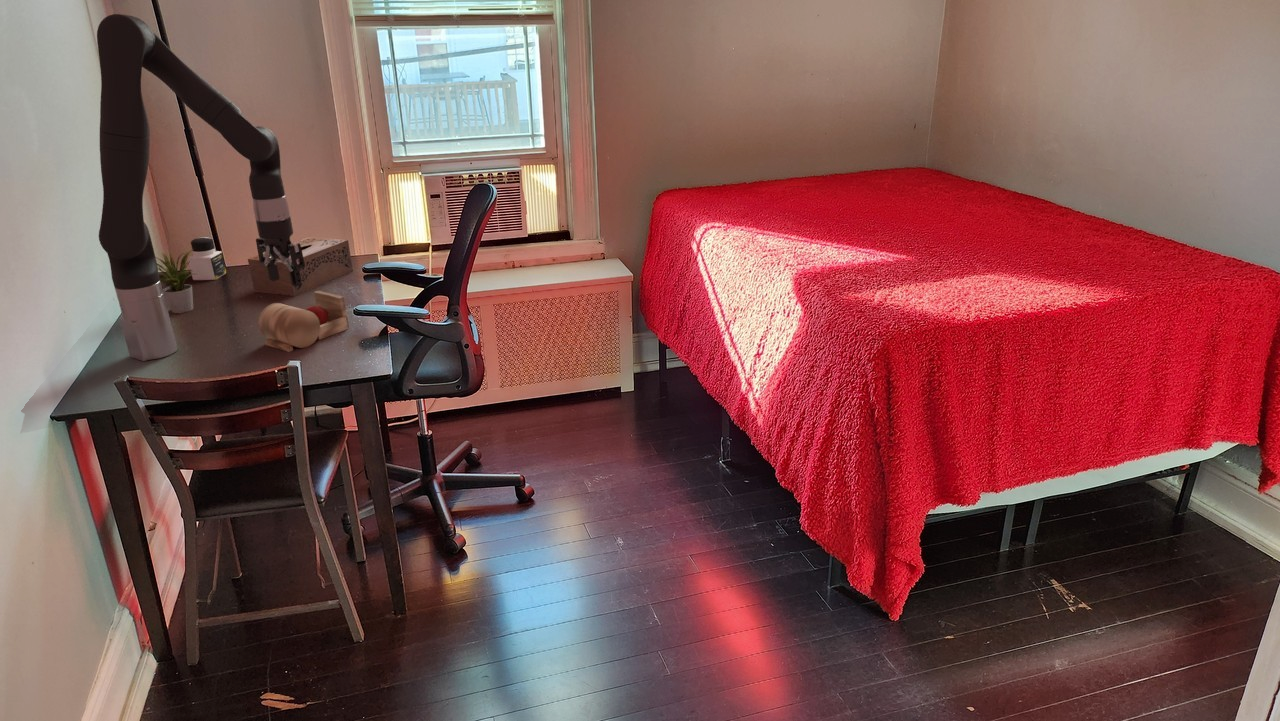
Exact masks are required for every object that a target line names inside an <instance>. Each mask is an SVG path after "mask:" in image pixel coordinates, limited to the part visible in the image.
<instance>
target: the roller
mask: <svg viewBox="0 0 1280 721" xmlns="http://www.w3.org/2000/svg"><path fill="white" fill-rule="evenodd" d="M258 328H259V331H260V333H261V334H262V335H263V336H264V337H265V338H267V339H264V344H265V346H268V347H272V348H274V349H278V350H282V351H284V352H288V353H289V352H292V351H294V347H296V348H301V349H303V348H307V347H309V346H311V345H312V344H314V343H315V342H316V340H318V339H317V337H318V335H319V332H320V322H319V319H318V317H317V316H316V315H315V314H314V313H313V312H311V311H308V310H305V309H303V308H300V307H297V306H296V307H295V306H293V305H288V304H285V303H284V304H283V303H280V302H273V303H270V304H268V305H267V306H265V307H264V308H263V310H262V311H261V312H260V314H259V317H258Z"/></svg>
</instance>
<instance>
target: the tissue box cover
mask: <svg viewBox="0 0 1280 721" xmlns="http://www.w3.org/2000/svg"><path fill="white" fill-rule="evenodd" d="M291 243H292V244H295V243H300V245H301V249H302V254H303V258H304V263H305V268H302V269H300V276H301V285H299V286H296V287H294V286H292V284H291V279H290V273H289V272H290V271H289V269H288V267H287V266H286V265H285V264H283V263H282V261H281V260H279V259H277V262H276V265H277V268H278V273H279V280H276V281H270V279H269V275H268V270H267V266H265V264H264V262H262V263H261V262H260V261H259V256H258V255H255V256H253V257H250V258H247V262H248V267H249V273H250V277H251V281H252V286H253V291H254V292H255V293H263V294H273V295H279V294H281V295H280V296H288V295H289V296H291V297H296V296H298V295H301V294H303V293H305V292H307V291H310V290H312V289H314V288H315V289H316V288H317V287H319V286H321V285H324V284H326V283H328V282H330V281H333V280H335V279H338V278H340V277H341V276H344V275H346V274H348V273H350V272H353V271H354V268H353V263H352V255H351V250H350V243H349V239H338V238H329V237H315V236H309V237H305V238H303V239H300V240H298V241H294V242H291ZM264 256H265V252H263V257H264ZM289 258H291V256H290V257H289ZM297 261H298V263H299V264H300V262H299V259H297ZM291 265H292V262H291ZM292 266H293V265H292Z"/></svg>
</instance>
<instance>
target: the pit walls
mask: <svg viewBox="0 0 1280 721" xmlns="http://www.w3.org/2000/svg"><path fill="white" fill-rule="evenodd" d="M313 293H314V294H313V295H314V300H315V306H320V307H322V308H324V309H325V310H326V311H327V312H329V314H330V316H328V323H325V324H322V325H320V332H319V335H318V337H317V339H316V340H320V341H321V340H322V339H325V338H329V337H331V336H333V335H336V334H339V333H341V332H344V331H346V330H348V328H349V327H350V325H349V324H350V323H349V319H348V313H347V306H346V303H345V296H343V295H338V294H333V293H331V292H325V291H322V290H316V291H314V292H313Z"/></svg>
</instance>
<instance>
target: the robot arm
mask: <svg viewBox="0 0 1280 721" xmlns="http://www.w3.org/2000/svg"><path fill="white" fill-rule="evenodd" d="M96 40H97V41H96V43H97V51H98V59H99V60H98V61H99V67H100V78H101V79H100V80H101V82H100V84H101V85H100V88H101V89H100V103H99V104H100V109H99V111H100V113H99V114H100V115H99V116H100V117H99V119H100V120H99V160H100V173H101V181H102V191H103V193H102V194H103V199H102V210H101V212H102V213H101V219H100V223H99V224H100V225H99V230H98V241H99V243H100V245H101V247H102V249H103V250H104V251H105V253H106V254H107V257H108V260H109V265H110V271H111V280H112V284H113V286H114V290H115V293H116V297H117V300H118V304H119V308H120V312H121V314H122V317H120V318H119V322H120V326H121V329H122V334H123V336H124V339H125V343H126V344H125V345H126V346H127V351H128V355H129V357H130V358H133V359H136V360H138V361H142V362H146V361H149V360H155V359H162V358H165V357H169V356H170V355H172V354H174V353H175V352H177V350H178V345H177V339H176V337H175V333H174V330H173V325H172V322H171V318H170V314H169V310H168V306H167V302H166V299H165V298H166V297H165V295H164V293H163V286H162V282H160V278H159V274H160V273H159V269H158V267H159V266H158V265H157V264H158V262H157V258H156V254H155V248H154V246H153V242H152V241H153V240H152V238H151V234H150V230H149V228H148V226H147V224H146V223H145V221H144V209H143V208H144V206H143V203H144V202H143V199H144V191H145V186H146V181H147V176H148V170H149V161H150V146H151V145H150V142H151V141H150V140H151V139H150V137H151V134H150V133H151V132H150V123H149V118H148V114H147V109H146V106H145V102H144V99H143V98H144V97H143V95H142V70H143V69H144V70H146V71H148V72H150V73H151V74H153V75H154V76H155V77H156V78H158V79H159V80H160V81H162V82H163V84H165V85H166V86H167V87H168V88H169V89H170V90H171V91H172V92H173V93H174V94H175V95H176V96H177V97H178V98H179V99H180V100H181V102H182V103H183V104H184V105H185V106H186V107H188V108H189V109H190V111H192V113H194V114H195V115H196V116H198V117H199V118H200V119H202V120H203V121H204V122H206V123H207V124H208V125H209V126H210V127H211V128H213V129H214V130H216V131H217V132H218V133H219V134H221V136H222V137H223V139H224V140H225V141H226V142H227V143H228V144H229V145H230V146H231V147H232V148H233V149H234V150H235V151H236V152H238V153H239V155H241V156H242V157H243V158H245V159H247V160H248V161H249V165H250V166H249V167H250V173H249V177H248V180H249V181H248V182H249V188H250V193H251V198H252V206H253V214H254V219H255V223H256V228H257V232H258V238H256V239H255V244H256V248H257V254H258V255H257V256H259V261H260V262H261V263H262V262H264V264H265V266H267V270H268V275H269V279H270V281H276V280H279V273H278V268H277V265H276V262H277V259H279V260H281V261H282V263H283V264H285V265H286V266H287V267H288V269H289V271H290V272H289V273H290V279H291V284H292V286H294V287H296V286H299V285H301V276H300V269H302V268H305V263H304V258H303V254H302V249H301V245H300V243H295V244H292V243H293V242H292V241H291V236H293V234H294V229H293V224H292V218H291V213H290V207H289V203H288V201H287V197H286V193H285V187H284V182H283V179H282V174H281V173H282V172H281V168H282V167H281V154H280V146H279V141H278V139H277V136H276V135H275V133H274V132H273V131H272V130H271V129H270V128H268V127H265V126H262V125H261V126H258V125H257V126H255V125H253V123H251V122H250V121H249V120H248V119H246V117H245V116H243V112H242V111H241V109H240V108H239V107H238V106H237V105H236V104H235V103H234V102H233V101H231V99H229V98H228V97H226V96H225V95H224V94H223V93H222V92H221V91H219V90H218V89H216V87H214V86H213V85H212V84H210V83H209V82H208V81H206V79H204V78H203V77H202V76H200V75H199V74H198V73H196V72H195V71H194V70H193V69H192V68H190V67H189V66H188V65H187V64H186V63H185V62H184V61H182V60H181V58H179V57H178V56H177V55H176V54H175V53H174V52H173V51H172V49H171V48H170V47H169V46H167V44H166V43H165V42H164V41H163V40H162V39H161V38H160V37H159V36H158V35H157V33H156V32H154V30H153V29H152V28H151V27H150V26H149V25H148V24H147V23H146V22H145V21H143V19H141V18H138V17H136V16H133V15H129V14H121V13H113V14H110V15H107V16H106V17H104V18H103V19H102V20H101V21H100V23H99V24H98V26H97V31H96ZM263 253H265V256H264V257H263ZM290 256H291V258H289V257H290ZM297 259H299V262H300V264H299V263H298V261H297ZM291 262H292V265H293V266H292V265H291ZM157 266H158V267H157Z"/></svg>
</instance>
